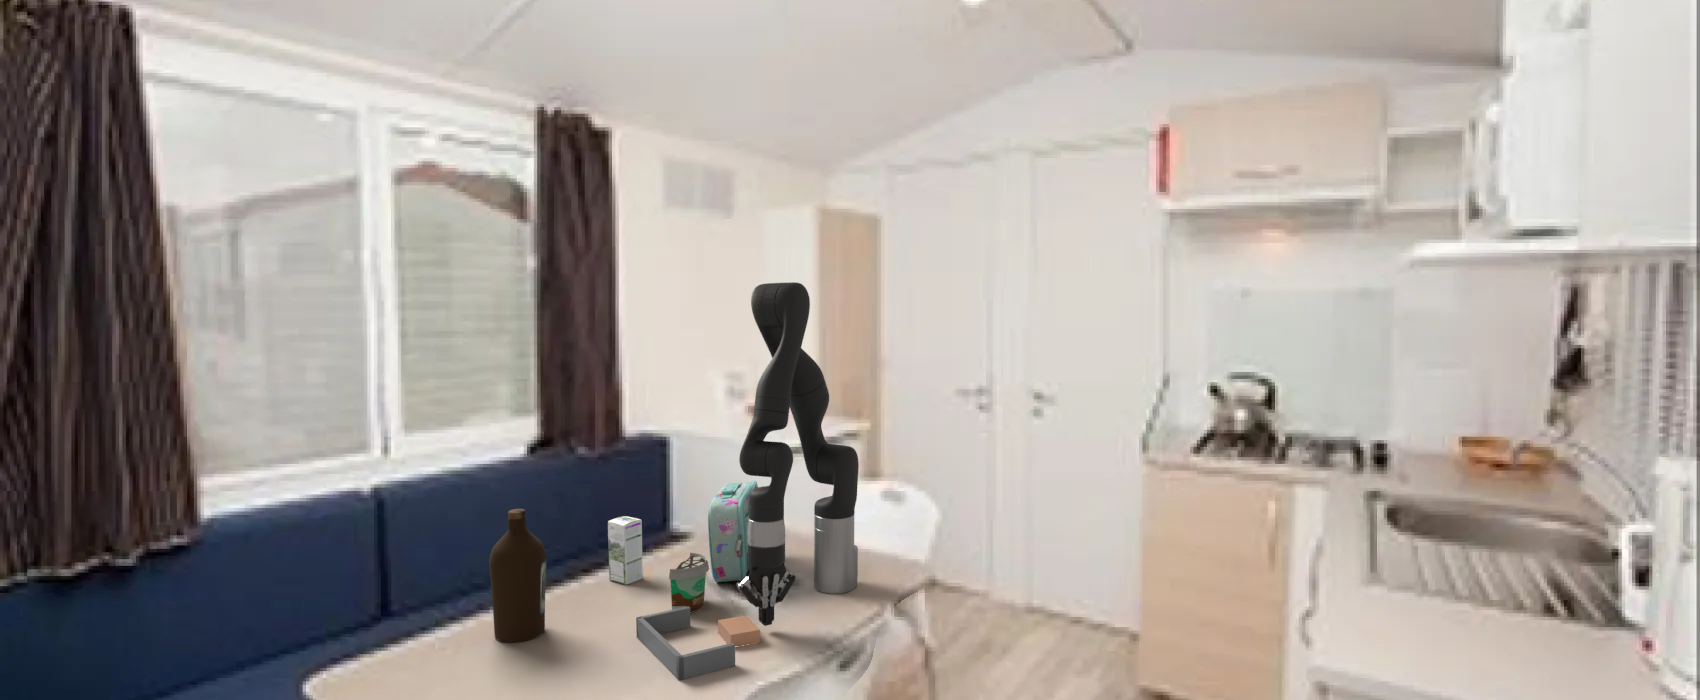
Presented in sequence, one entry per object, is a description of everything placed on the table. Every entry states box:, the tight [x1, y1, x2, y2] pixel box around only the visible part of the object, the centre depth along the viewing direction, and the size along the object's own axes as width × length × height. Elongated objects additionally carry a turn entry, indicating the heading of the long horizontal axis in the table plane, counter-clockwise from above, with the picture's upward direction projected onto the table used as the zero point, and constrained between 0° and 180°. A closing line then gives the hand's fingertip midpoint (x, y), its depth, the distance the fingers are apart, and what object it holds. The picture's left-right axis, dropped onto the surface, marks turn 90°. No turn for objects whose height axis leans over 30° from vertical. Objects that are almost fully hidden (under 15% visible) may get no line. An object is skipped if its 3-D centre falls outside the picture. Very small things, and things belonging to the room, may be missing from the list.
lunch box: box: [707, 480, 759, 583], centre depth 212 cm, size 27×10×21 cm, turn 179°
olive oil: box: [488, 508, 547, 643], centre depth 174 cm, size 11×11×25 cm
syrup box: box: [607, 515, 644, 586], centre depth 205 cm, size 6×6×14 cm
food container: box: [668, 552, 710, 613], centre depth 189 cm, size 12×6×10 cm, turn 168°
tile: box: [717, 614, 761, 647], centre depth 173 cm, size 6×8×3 cm
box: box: [635, 606, 736, 681], centre depth 167 cm, size 11×22×4 cm, turn 33°
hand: (766, 623), depth 176 cm, fingers closed
